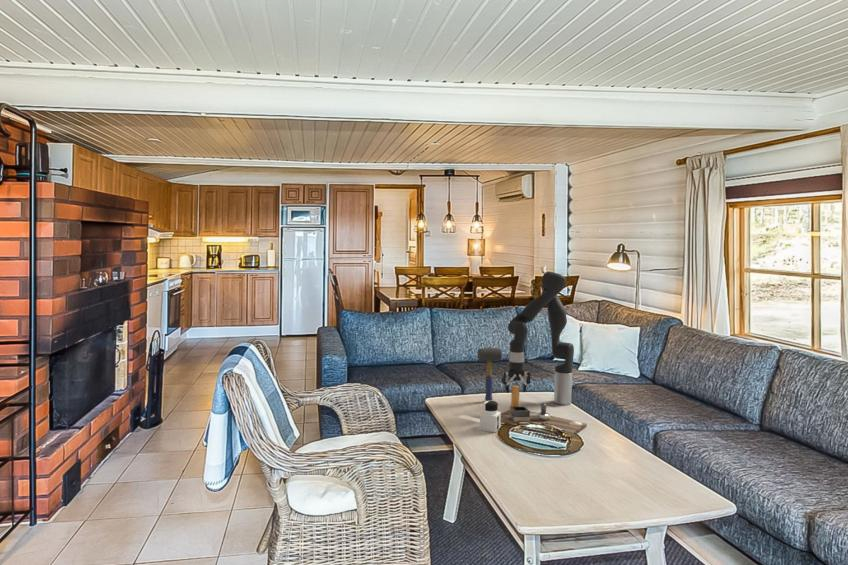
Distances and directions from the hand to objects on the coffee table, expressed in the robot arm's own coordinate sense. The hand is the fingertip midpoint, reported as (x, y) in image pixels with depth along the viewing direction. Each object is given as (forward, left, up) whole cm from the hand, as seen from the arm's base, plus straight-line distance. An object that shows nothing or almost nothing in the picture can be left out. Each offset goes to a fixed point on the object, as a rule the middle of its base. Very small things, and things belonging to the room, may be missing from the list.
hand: (515, 392), depth 270 cm
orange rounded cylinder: (0, 0, -10) cm, 10 cm away
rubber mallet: (-11, -22, -12) cm, 28 cm away
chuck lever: (+5, +11, -10) cm, 16 cm away
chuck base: (+6, +15, -12) cm, 20 cm away
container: (+26, +1, -12) cm, 28 cm away
